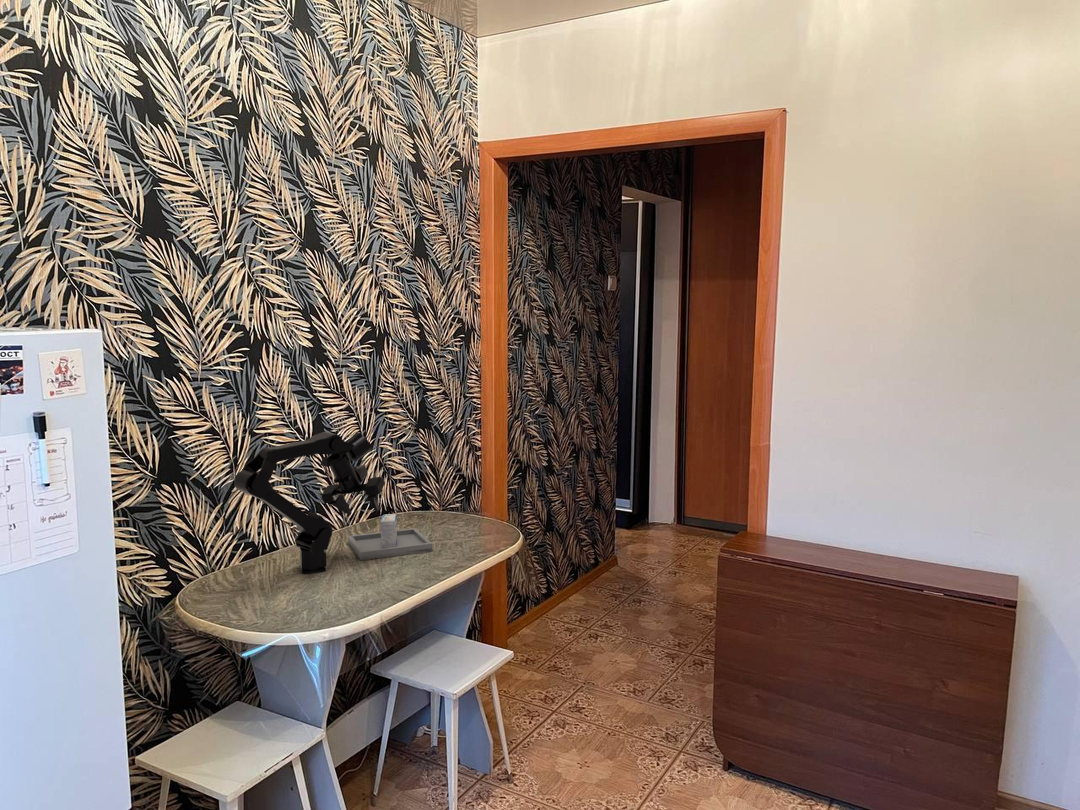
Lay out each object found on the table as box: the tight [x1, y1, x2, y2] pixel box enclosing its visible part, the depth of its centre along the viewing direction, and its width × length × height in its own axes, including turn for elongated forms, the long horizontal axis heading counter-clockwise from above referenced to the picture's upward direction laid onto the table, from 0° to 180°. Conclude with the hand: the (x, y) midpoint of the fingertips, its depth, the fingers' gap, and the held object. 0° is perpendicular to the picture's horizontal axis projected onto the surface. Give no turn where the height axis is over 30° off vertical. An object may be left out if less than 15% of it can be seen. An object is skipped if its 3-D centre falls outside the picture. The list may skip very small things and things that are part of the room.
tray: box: [347, 527, 433, 561], centre depth 234 cm, size 22×18×2 cm
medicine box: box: [380, 513, 398, 548], centre depth 233 cm, size 8×4×9 cm, turn 7°
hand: (364, 512), depth 225 cm, fingers open, 9 cm apart
